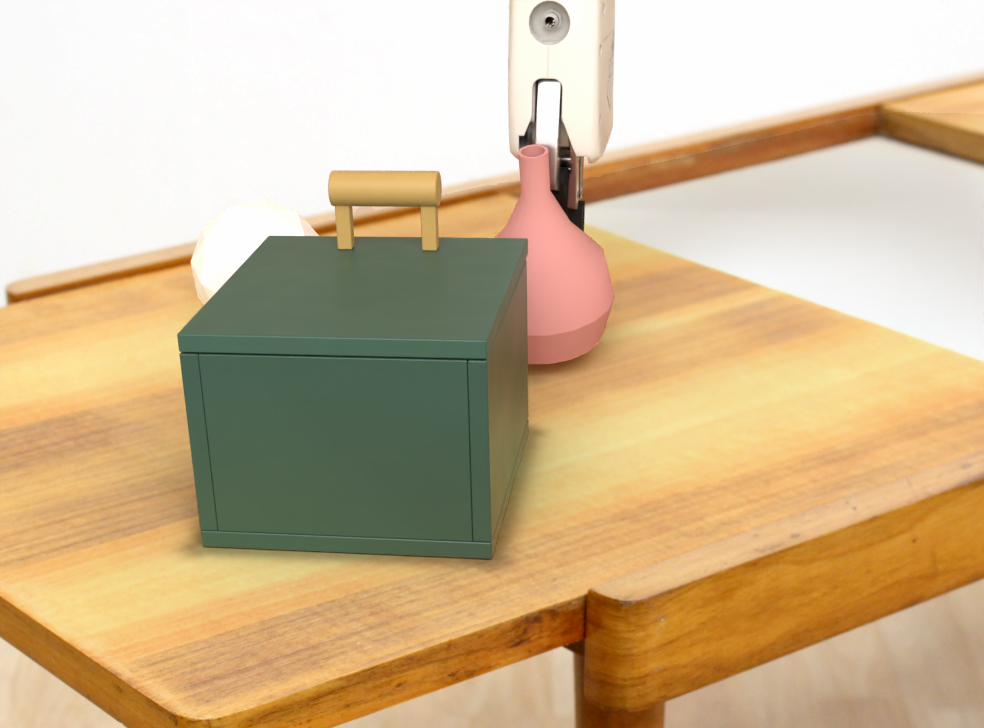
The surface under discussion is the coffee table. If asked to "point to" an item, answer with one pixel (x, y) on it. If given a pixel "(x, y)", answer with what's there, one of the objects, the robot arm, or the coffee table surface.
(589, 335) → the pink vase
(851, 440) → the coffee table surface
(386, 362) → the bin
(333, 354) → the bread bin lid
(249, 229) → the geometric ball
